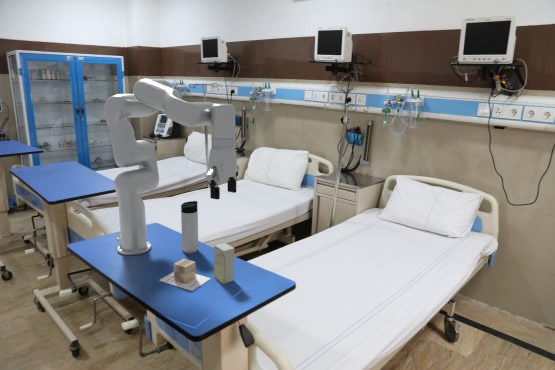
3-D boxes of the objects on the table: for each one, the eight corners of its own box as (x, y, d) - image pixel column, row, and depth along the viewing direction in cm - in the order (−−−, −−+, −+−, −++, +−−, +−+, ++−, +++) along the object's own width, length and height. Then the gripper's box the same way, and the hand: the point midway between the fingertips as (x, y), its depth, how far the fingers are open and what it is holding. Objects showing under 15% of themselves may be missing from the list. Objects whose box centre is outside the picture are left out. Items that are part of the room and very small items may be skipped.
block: (174, 280, 132) (173, 263, 131) (184, 274, 136) (183, 258, 135) (186, 284, 130) (185, 267, 128) (195, 278, 134) (195, 261, 133)
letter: (158, 281, 132) (158, 280, 132) (179, 269, 141) (178, 268, 141) (192, 291, 126) (192, 290, 126) (210, 279, 134) (210, 278, 134)
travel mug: (202, 250, 157) (201, 202, 152) (188, 255, 152) (187, 206, 147) (192, 246, 161) (191, 199, 156) (179, 251, 156) (177, 202, 151)
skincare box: (213, 277, 135) (213, 244, 132) (224, 274, 138) (224, 241, 135) (223, 285, 131) (223, 250, 128) (234, 281, 134) (234, 247, 131)
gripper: (228, 139, 134) (228, 188, 139) (196, 145, 119) (198, 199, 123) (247, 141, 131) (247, 191, 135) (217, 147, 116) (218, 203, 120)
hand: (223, 195), depth 129 cm, fingers open, 9 cm apart
